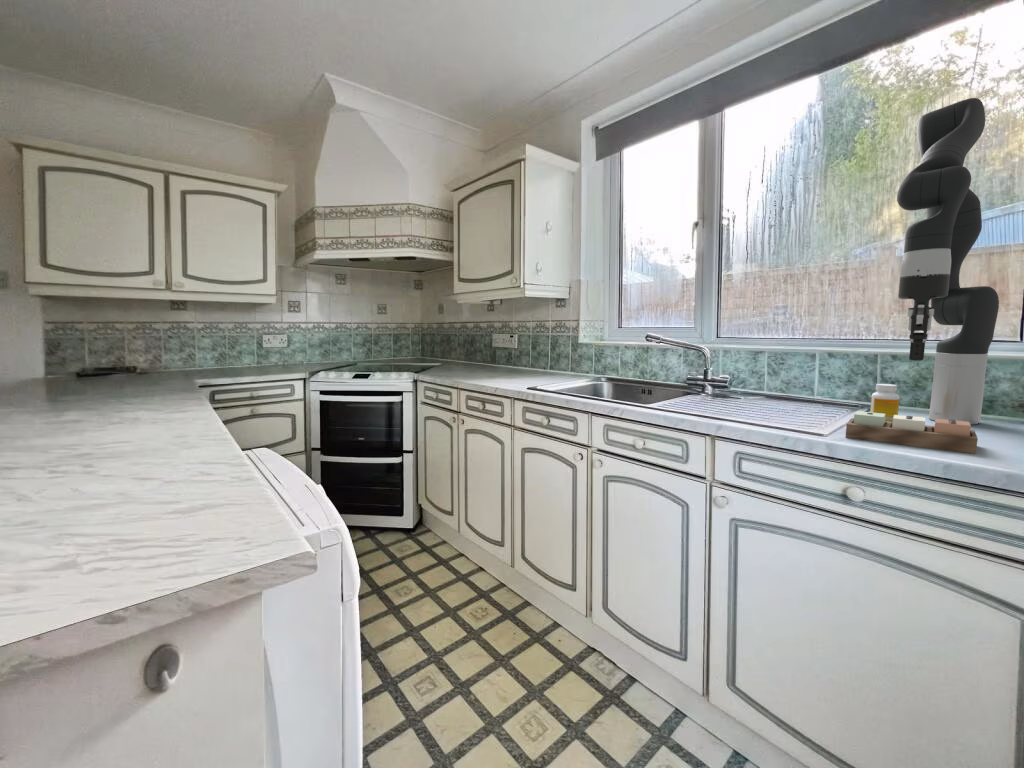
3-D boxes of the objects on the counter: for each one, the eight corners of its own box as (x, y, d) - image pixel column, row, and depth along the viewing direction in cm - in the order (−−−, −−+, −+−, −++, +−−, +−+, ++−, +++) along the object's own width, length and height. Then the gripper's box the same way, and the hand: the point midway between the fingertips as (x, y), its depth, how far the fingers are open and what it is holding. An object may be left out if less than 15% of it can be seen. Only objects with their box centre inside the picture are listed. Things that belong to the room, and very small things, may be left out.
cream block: (891, 436, 96) (893, 417, 95) (892, 432, 99) (894, 413, 99) (923, 440, 92) (925, 420, 92) (923, 436, 96) (925, 416, 95)
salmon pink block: (933, 441, 91) (935, 421, 91) (933, 437, 95) (935, 417, 94) (968, 446, 88) (970, 424, 87) (966, 441, 92) (969, 420, 91)
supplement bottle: (902, 426, 110) (906, 386, 109) (876, 425, 111) (880, 385, 110) (888, 421, 115) (892, 383, 114) (864, 420, 116) (868, 383, 115)
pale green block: (852, 432, 100) (854, 413, 99) (855, 428, 104) (857, 410, 103) (881, 435, 97) (883, 416, 96) (883, 431, 100) (885, 412, 100)
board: (845, 437, 99) (846, 423, 99) (850, 430, 106) (852, 417, 106) (975, 454, 86) (977, 438, 86) (972, 444, 92) (974, 430, 92)
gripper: (901, 278, 99) (894, 357, 101) (898, 273, 89) (890, 361, 92) (949, 275, 94) (940, 359, 96) (951, 270, 84) (941, 363, 87)
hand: (916, 360), depth 94 cm, fingers closed
